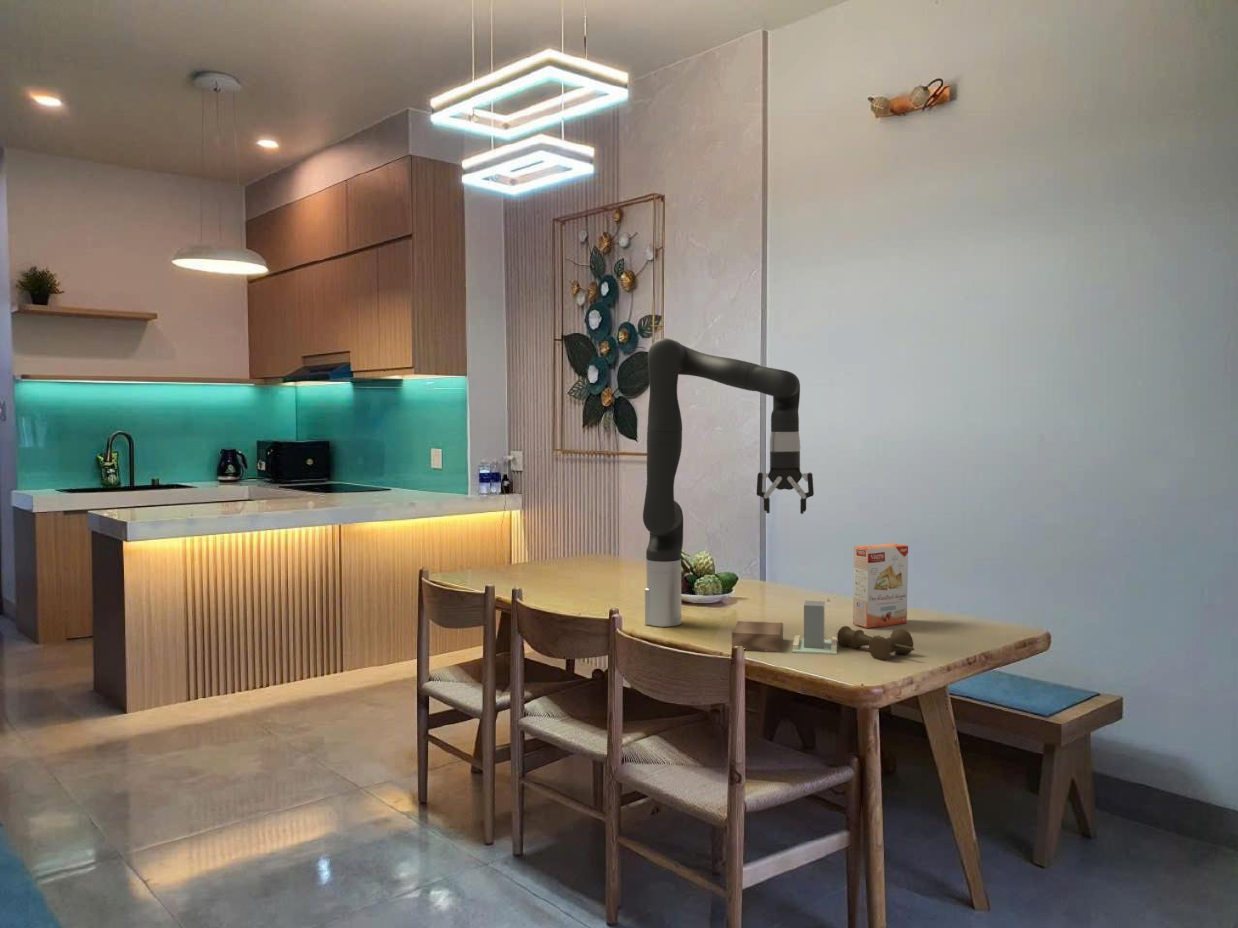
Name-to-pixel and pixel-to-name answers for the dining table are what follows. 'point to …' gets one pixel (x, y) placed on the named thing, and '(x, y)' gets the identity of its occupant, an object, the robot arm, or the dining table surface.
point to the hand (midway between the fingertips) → (785, 513)
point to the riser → (758, 635)
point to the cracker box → (880, 585)
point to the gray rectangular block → (814, 624)
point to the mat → (829, 648)
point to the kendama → (877, 642)
